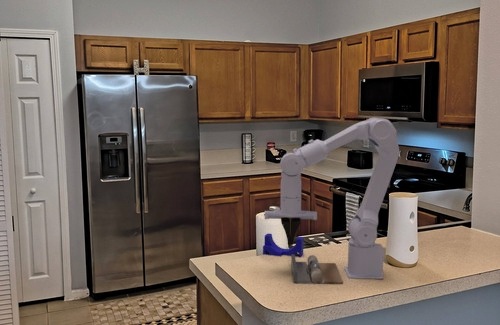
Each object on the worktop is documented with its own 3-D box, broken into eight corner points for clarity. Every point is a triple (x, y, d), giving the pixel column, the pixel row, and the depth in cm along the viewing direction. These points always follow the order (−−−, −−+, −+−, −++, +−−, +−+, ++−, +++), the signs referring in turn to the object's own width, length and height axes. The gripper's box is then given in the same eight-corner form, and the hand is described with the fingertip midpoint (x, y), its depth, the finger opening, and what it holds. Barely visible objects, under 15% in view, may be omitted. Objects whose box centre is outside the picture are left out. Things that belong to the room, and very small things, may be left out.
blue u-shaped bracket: (262, 255, 152) (263, 237, 151) (267, 251, 156) (267, 233, 155) (299, 259, 148) (300, 240, 147) (303, 255, 152) (303, 237, 151)
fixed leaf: (335, 265, 142) (335, 255, 141) (342, 284, 127) (343, 273, 126) (307, 265, 142) (307, 255, 142) (311, 284, 127) (311, 272, 127)
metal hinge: (317, 264, 142) (317, 254, 142) (322, 283, 127) (323, 272, 127) (291, 264, 142) (291, 254, 142) (293, 283, 127) (293, 271, 127)
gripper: (315, 194, 136) (314, 240, 138) (264, 193, 137) (264, 239, 139) (318, 198, 129) (317, 247, 131) (264, 198, 130) (264, 246, 132)
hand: (290, 244), depth 134 cm, fingers closed
